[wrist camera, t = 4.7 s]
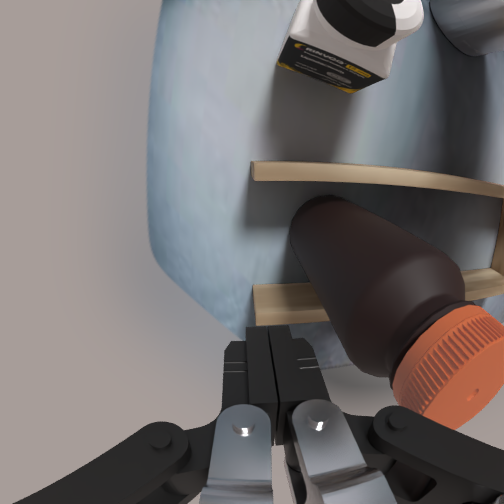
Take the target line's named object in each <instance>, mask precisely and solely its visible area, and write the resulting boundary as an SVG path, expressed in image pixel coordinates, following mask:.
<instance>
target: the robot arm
mask: <svg viewBox="0 0 504 504" xmlns="http://www.w3.org/2000/svg"><path fill="white" fill-rule="evenodd" d="M430 7H431V11H432V14H433V16H434V19H435V21H436V22H437V24H438V26H439V28H440V29H441V30H442V32H443V33H444V35H445V36H446V37H447V38H448V40H449V41H450V42H451V43H452V44H453V45H454V46H455V47H457V48H458V49H459V50H460V51H462V52H463V53H465V54H467V55H470V56H480V55H486V54H489V53H493V52H499V51H504V0H430ZM224 354H225V355H224V373H223V393H222V409H221V412H220V414H219V415H218V417H217V418H216V419H215V420H214V421H212V422H211V423H209V424H207V425H205V426H202V427H198V428H194V429H189V430H183V429H181V428H180V427H179V426H177V425H175V424H173V423H169V422H154V423H151V424H148V425H146V426H144V427H143V428H141V429H140V430H139V431H137V432H136V433H134V434H133V435H131V436H130V437H128V438H127V439H125V440H124V441H122V442H121V443H119V444H118V445H116V446H115V447H113V448H112V449H110V450H108V451H107V452H105V453H104V454H102V455H100V456H99V457H97V458H96V459H94V460H93V461H91V462H89V463H88V464H86V465H84V466H82V467H81V468H79V469H77V470H76V471H74V472H72V473H71V474H69V475H67V476H66V477H64V478H62V479H60V480H58V481H56V482H55V483H53V484H51V485H49V486H47V487H45V488H43V489H42V490H40V491H38V492H36V493H34V494H32V495H30V496H28V497H26V498H24V499H22V500H20V501H18V502H15V503H13V504H187V503H188V502H190V501H191V500H192V499H193V498H194V497H196V496H197V495H198V494H199V493H200V492H201V495H200V501H199V504H273V490H272V479H271V478H272V473H271V472H272V470H271V447H272V446H273V445H274V437H275V444H276V445H284V450H285V460H284V467H285V471H286V475H287V479H288V483H289V487H290V491H291V495H292V499H293V503H294V504H504V450H501V449H499V448H496V447H493V446H491V445H488V444H485V443H483V442H481V441H478V440H476V439H474V438H471V437H469V436H466V435H464V434H462V433H459V432H457V431H455V430H453V429H450V428H448V427H446V426H444V425H442V424H439V423H437V422H435V421H433V420H431V419H429V418H427V417H424V416H422V415H420V414H418V413H416V412H414V411H412V410H410V409H408V408H405V407H402V406H388V407H385V408H383V409H381V410H380V411H379V412H378V413H377V414H376V415H375V417H370V416H356V415H350V414H347V413H344V412H342V411H341V409H340V408H339V407H338V406H337V405H335V404H334V403H332V402H331V400H330V398H329V394H328V391H327V388H326V386H325V382H324V380H323V376H322V374H321V371H320V368H319V365H318V362H317V359H316V356H315V353H314V350H313V348H312V346H311V345H310V344H309V343H308V342H307V341H306V340H305V339H304V338H298V339H292V337H291V333H290V329H289V326H288V325H283V326H268V327H267V328H266V326H260V327H246V341H231V342H230V344H229V345H228V346H227V348H226V350H225V352H224Z"/></svg>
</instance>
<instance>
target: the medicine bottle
mask: <svg viewBox="0 0 504 504" xmlns="http://www.w3.org/2000/svg"><path fill="white" fill-rule="evenodd" d="M423 18H424V14H423V7H422V3H421V0H300V1H299V3H298V5H297V8H296V10H295V13H294V15H293V18H292V21H291V23H290V26H289V28H288V31H287V34H286V36H285V39H284V42H283V45H282V47H281V50H280V53H279V56H278V58H277V61H276V63H277V65H278V66H280V67H283V68H286V69H289V70H292V71H295V72H298V73H301V74H303V75H306V76H309V77H311V78H314V79H317V80H319V81H322V82H324V83H327V84H329V85H331V86H334V87H336V88H338V89H341V90H343V91H345V92H347V93H354V92H356V91H358V90H361V89H363V88H365V87H367V86H370V85H372V84H374V83H377V82H379V81H381V80H384V79H386V78H388V76H389V74H390V70H391V65H392V61H393V57H394V53H395V48H396V43H397V42H398V41H400V40H401V39H403V38H405V37H407V36H408V35H410V34H412V33H414V32H416V31H417V30H418V29H419V28H420V26H421V25H422V22H423Z"/></svg>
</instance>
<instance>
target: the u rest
mask: <svg viewBox="0 0 504 504" xmlns="http://www.w3.org/2000/svg"><path fill="white" fill-rule="evenodd" d="M251 176H252V177H253V179H254V181H330V182H354V183H373V184H387V185H400V186H412V187H423V188H432V189H441V190H450V191H458V192H465V193H473V194H479V195H486V196H492V197H498V198H503V204H502V212H501V219H500V225H499V231H498V237H497V242H496V247H495V252H494V256H493V261H492V265H491V268H486V269H477V270H467V271H460V272H461V274H462V277H463V280H464V282H465V301H473V300H477V299H482V298H487V297H491V296H496V295H500V294H504V185H500V184H496V183H491V182H486V181H481V180H476V179H471V178H465V177H460V176H454V175H448V174H441V173H435V172H428V171H420V170H413V169H404V168H395V167H386V166H375V165H363V164H349V163H331V162H307V161H251ZM253 301H254V311H255V320H256V326H259V325H280V324H297V323H311V322H323V321H330V319H329V317H328V315H327V313H326V311H325V310H324V308H323V306H322V304H321V302H320V300H319V298H318V296H317V294H316V292H315V290H314V288H313V286H312V284H311V283H310V282H309V283H287V284H262V285H253Z"/></svg>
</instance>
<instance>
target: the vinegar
mask: <svg viewBox="0 0 504 504" xmlns="http://www.w3.org/2000/svg"><path fill="white" fill-rule="evenodd" d="M290 243H291V245H292V248H293V250H294V252H295V254H296V256H297V258H298V260H299V262H300V264H301V266H302V268H303V269H304V271H305V273H306V275H307V277H308V279H309V281H310V283H311V284H312V286H313V288H314V290H315V292H316V294H317V296H318V298H319V300H320V302H321V304H322V306H323V308H324V310H325V311H326V313H327V315H328V317H329V319H330V321H331V323H332V325H333V327H334V329H335V331H336V333H337V335H338V337H339V339H340V341H341V343H342V345H343V347H344V349H345V351H346V353H347V355H348V357H349V359H350V360H351V361H352V362H353V363H354V364H355V365H356V366H357V367H358V368H359V369H360V370H361V371H362V372H364V373H368V374H370V375H373V376H376V377H389V380H390V387H391V389H392V390H393V393H394V397H395V399H396V401H397V402H398V404H399V406H402V407H405V408H408V409H410V410H412V411H414V412H416V413H418V414H420V415H422V416H424V417H427V418H429V419H431V420H433V421H435V422H437V423H439V424H442V425H444V426H446V427H448V428H450V429H453V430H455V429H457V428H459V427H460V426H462V425H463V424H464V423H466V422H467V421H469V420H470V419H471V418H473V417H474V416H475V415H476V414H477V413H479V412H480V411H481V410H482V409H483V408H484V407H485V406H486V405H487V404H488V403H489V402H490V400H491V399H492V398H493V397H494V396H495V395H496V394H497V392H498V391H499V390H500V388H501V387H502V385H503V384H504V326H503V325H502V324H501V323H500V322H498V321H497V320H496V319H495V318H494V317H492V316H491V315H490V314H489V313H487V312H486V311H485V310H484V309H483V308H481V307H480V306H476V305H475V304H474V303H473V302H472V301H465V282H464V280H463V277H462V274H461V272H460V269H459V267H458V265H457V264H456V263H454V262H453V261H452V260H451V259H450V258H449V257H448V256H447V255H446V254H445V253H443V252H442V251H440V250H438V249H437V248H435V247H433V246H432V245H430V244H428V243H427V242H425V241H423V240H421V239H420V238H418V237H416V236H414V235H413V234H411V233H409V232H407V231H405V230H404V229H402V228H400V227H398V226H396V225H394V224H393V223H391V222H389V221H387V220H385V219H383V218H381V217H379V216H377V215H375V214H373V213H372V212H370V211H368V210H366V209H364V208H362V207H360V206H358V205H356V204H354V203H352V202H350V201H347V200H345V199H343V198H341V197H337V196H333V195H325V196H318V197H316V198H314V199H311V200H309V201H307V202H306V203H305V204H304V205H303V206H302V207H300V208H299V210H298V211H297V213H296V215H295V216H294V218H293V220H292V224H291V228H290Z"/></svg>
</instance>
